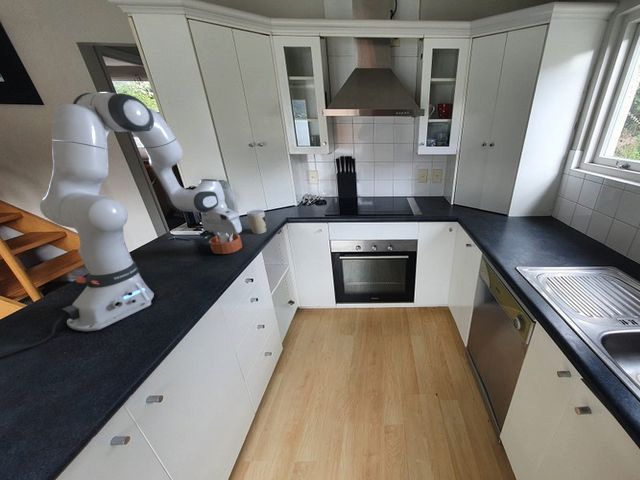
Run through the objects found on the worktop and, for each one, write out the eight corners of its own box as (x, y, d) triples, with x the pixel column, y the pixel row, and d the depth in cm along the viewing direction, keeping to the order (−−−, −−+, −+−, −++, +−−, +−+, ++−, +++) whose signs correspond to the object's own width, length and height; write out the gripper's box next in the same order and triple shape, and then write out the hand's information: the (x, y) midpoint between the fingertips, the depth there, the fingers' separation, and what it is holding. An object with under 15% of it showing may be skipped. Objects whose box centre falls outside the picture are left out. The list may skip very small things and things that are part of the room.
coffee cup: (269, 232, 160) (266, 212, 155) (252, 235, 155) (248, 215, 150) (265, 227, 167) (262, 208, 161) (249, 230, 162) (245, 211, 157)
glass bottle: (219, 228, 165) (206, 181, 152) (229, 223, 174) (218, 178, 161) (234, 229, 164) (222, 182, 151) (244, 223, 173) (234, 178, 160)
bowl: (229, 256, 131) (225, 245, 128) (205, 253, 134) (202, 242, 131) (248, 245, 143) (246, 234, 140) (226, 242, 146) (224, 232, 143)
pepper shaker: (224, 245, 139) (219, 227, 135) (232, 244, 140) (228, 227, 136) (221, 248, 136) (216, 230, 131) (230, 247, 136) (225, 230, 132)
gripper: (194, 213, 130) (203, 240, 136) (230, 217, 125) (237, 244, 131) (205, 209, 135) (213, 235, 141) (240, 213, 130) (246, 239, 137)
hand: (225, 239), depth 136 cm, fingers closed on pepper shaker, 5 cm apart
